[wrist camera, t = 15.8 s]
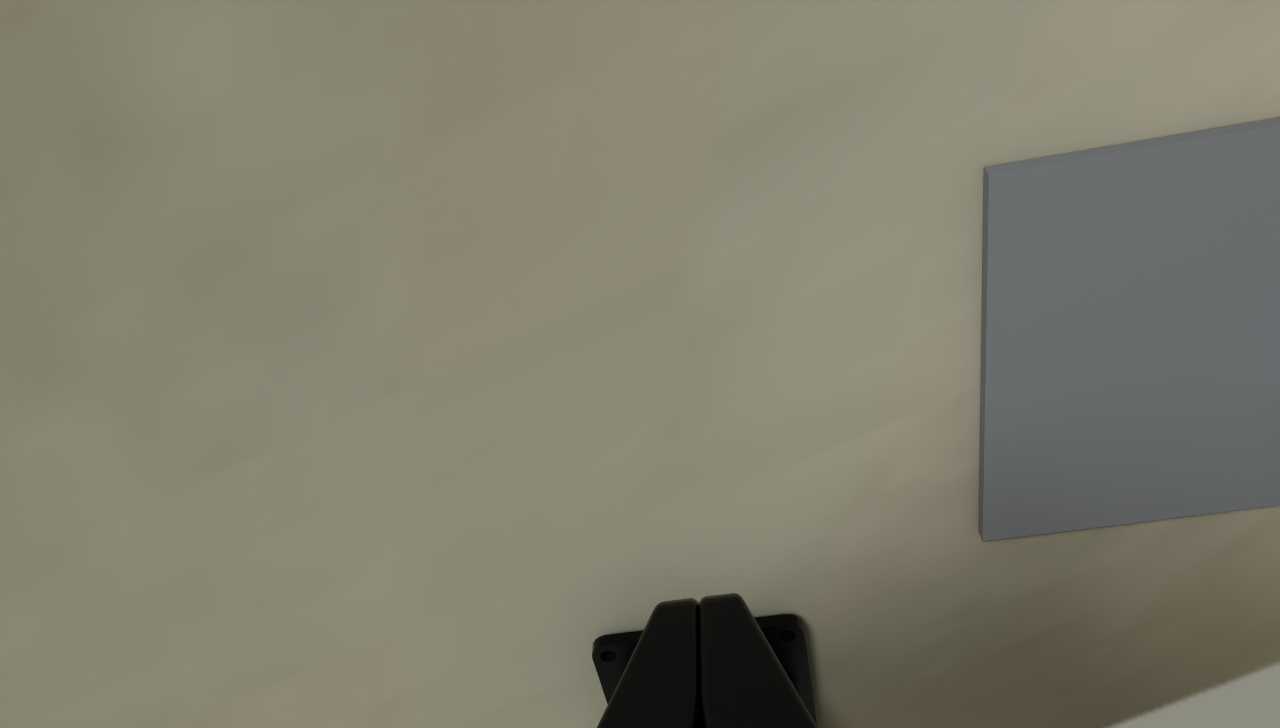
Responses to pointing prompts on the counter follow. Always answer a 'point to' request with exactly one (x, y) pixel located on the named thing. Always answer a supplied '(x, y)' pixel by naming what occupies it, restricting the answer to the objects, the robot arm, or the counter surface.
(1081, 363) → the mat
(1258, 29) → the counter surface
